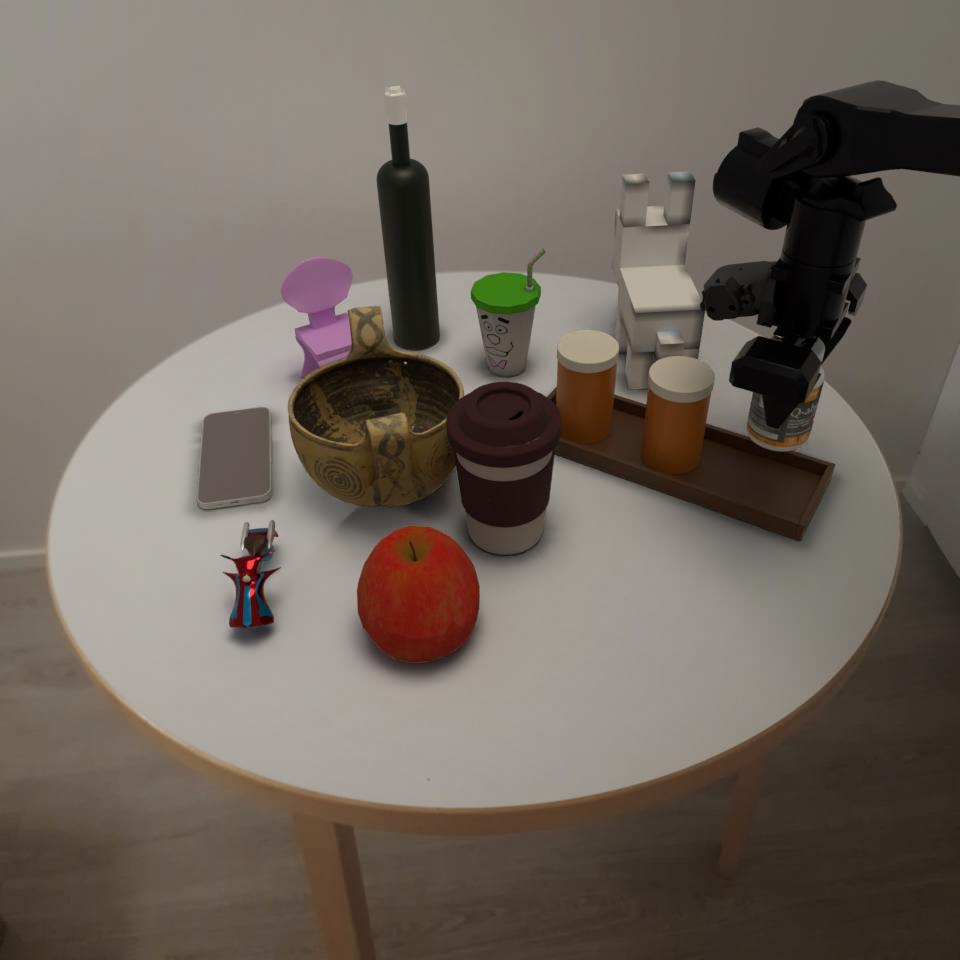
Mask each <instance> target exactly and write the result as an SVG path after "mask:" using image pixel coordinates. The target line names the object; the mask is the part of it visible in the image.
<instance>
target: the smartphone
mask: <svg viewBox="0 0 960 960" xmlns="http://www.w3.org/2000/svg"><path fill="white" fill-rule="evenodd" d="M201 427H202V429H201V439H200V451H199V465H198V477H197V489H196V490H197V491H196V500H197V503H198V506H199V507H200V508H201V509H203V510H213V509H221V508H228V507H234V506H240V505H249V504H256V503H261V502H265V501H267V500H269V499H270V498H272V495H273V437H272V436H273V434H272V432H273V431H272V429H273V427H272V413H271V410H270V409H269V408H268V407H265V406H257V407H250V408H249V407H247V408H242V409H234V410H226V411H219V412H212V413H209V414H207V415H205V416H204V417H203V419H202V426H201Z"/></svg>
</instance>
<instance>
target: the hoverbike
mask: <svg viewBox="0 0 960 960" xmlns="http://www.w3.org/2000/svg"><path fill="white" fill-rule="evenodd" d="M275 538H279V534H278V532H277V530H276V521H275V519H271V520H270V521H269V523H268V527H258V528H250V522H248V521H245V522H244V523H243V526H242V531H241V536H240V544H239V545H240V546H239V548H240V551H241V552H244V551H245V550H246V551H247V553H248V555H242V556H240V557H238V558H237V557H235V558H233V557H230V556H229V555H225V554H219V557H222V558H224V559H226V560H230V561H232V562H233V564H234V565H235V568H236V571H237V573H235V572H227V571H222V573H223V574H224V575H225V576H227V577H228V578H229V579H231V581H232V582H233V584H234V587H235V600H234V605H233V608H232V610H231V613H230V615H229V619H228V626H229V627H230V628H232V629H233V628H237V629H239V628H240V629H245V628H246V629H247V628H251V629H252V628H253V629H254V628H258V627H261V626H269V625H272V624H274V623H275V616H274V614H273V611H272V609H271V608H270V606H269V604H268V602H267V600H266V596H265V587H264V586H265V583H266V582H267V580H268V579H269V578H270V576H272V575H273V574H274V573H275V572H277V571H279V570H280V569H282V566H280V567H277V568H274V569H270V570H261V569H262V563H265V562H269V561H270V560H271V559H272V558H273V556H274V554H275V552H276V551H277V550H276V549H275V547H274V545H273V542H274V540H275Z"/></svg>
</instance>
